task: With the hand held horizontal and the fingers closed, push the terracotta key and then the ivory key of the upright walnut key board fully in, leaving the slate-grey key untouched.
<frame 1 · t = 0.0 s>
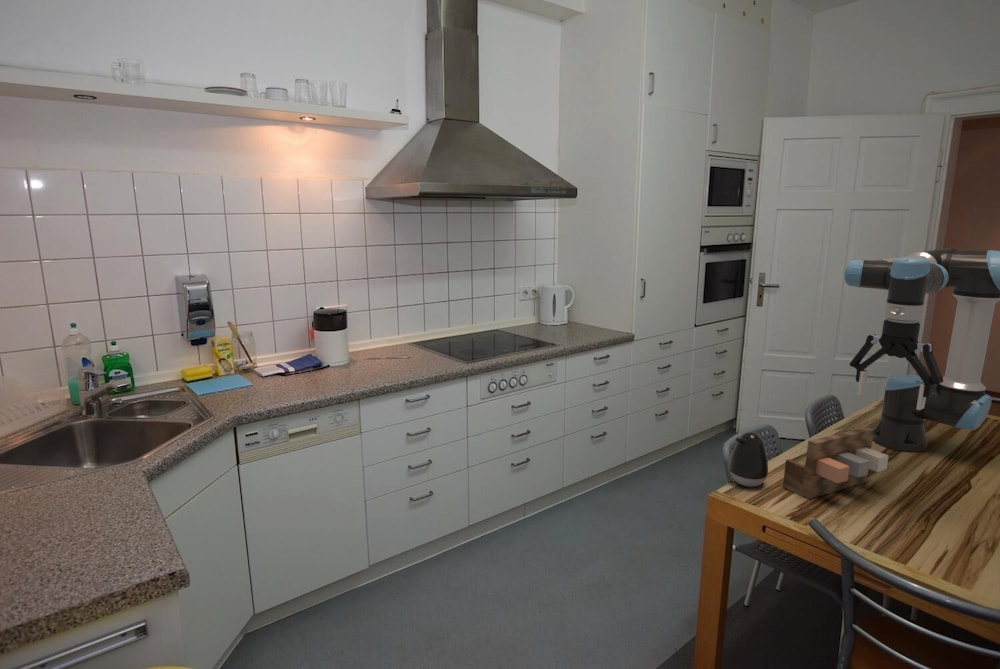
hand: (889, 401, 146), 28 cm above the table, tool pointing down, fingers open, 13 cm apart
key slate: (849, 463, 154), point 9 cm above the table, slide at 0.0 cm
key board: (834, 488, 158), on the table
key ivory: (868, 458, 157), point 9 cm above the table, slide at 0.0 cm
key terracotta: (829, 468, 151), point 9 cm above the table, slide at 0.0 cm
black penguin figurine: (746, 483, 162), on the table
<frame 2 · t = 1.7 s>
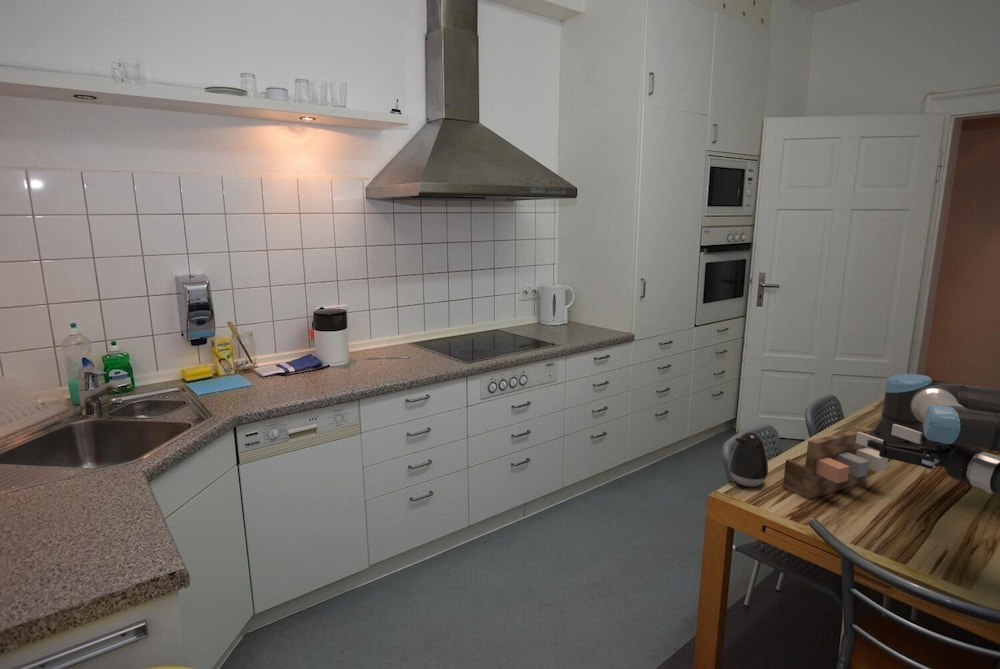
hand: (875, 433, 138), 23 cm above the table, tool horizontal, fingers open, 13 cm apart
nothing on the table moved.
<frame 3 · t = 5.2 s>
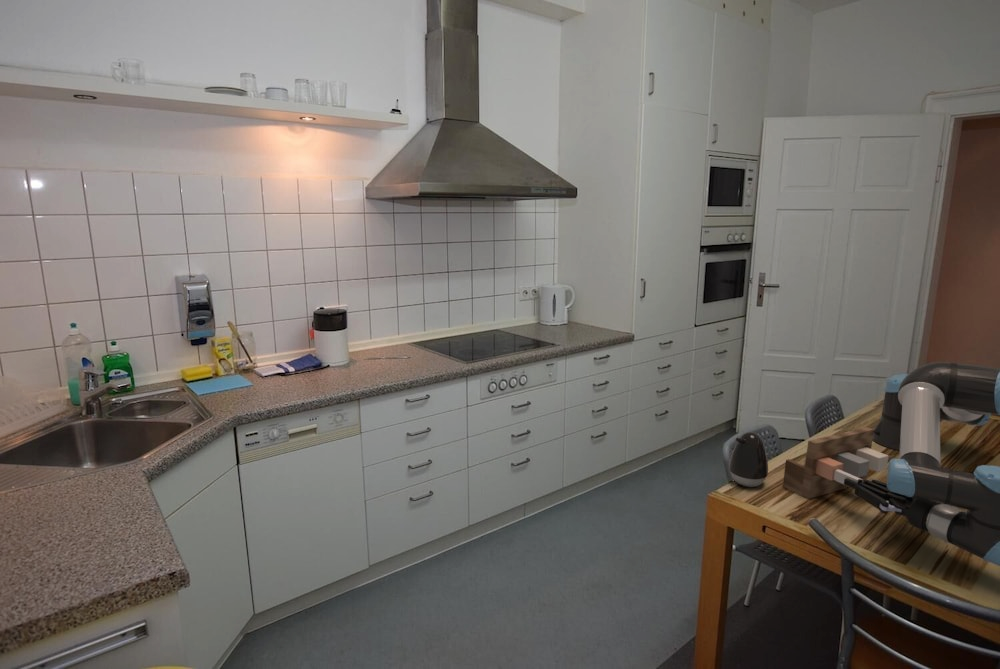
hand: (836, 474, 148), 9 cm above the table, tool horizontal, fingers closed
key terracotta: (823, 466, 152), point 9 cm above the table, slide at 1.7 cm, touching gripper
everything else where it was.
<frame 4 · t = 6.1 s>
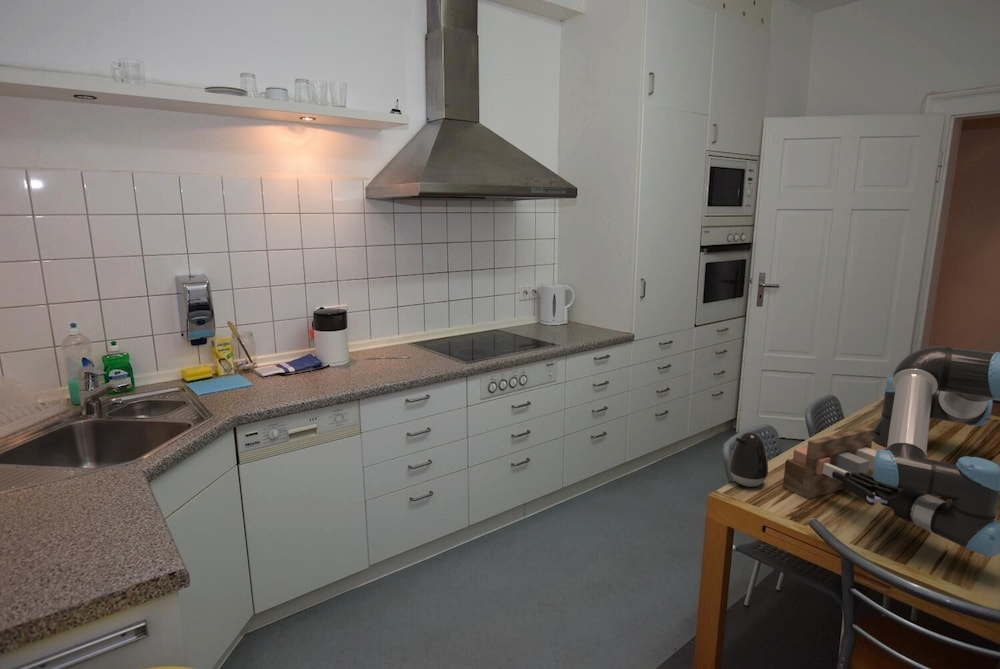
hand: (824, 468, 151), 9 cm above the table, tool horizontal, fingers closed
key terracotta: (811, 460, 155), point 9 cm above the table, slide at 5.3 cm, touching gripper
everything else where it was.
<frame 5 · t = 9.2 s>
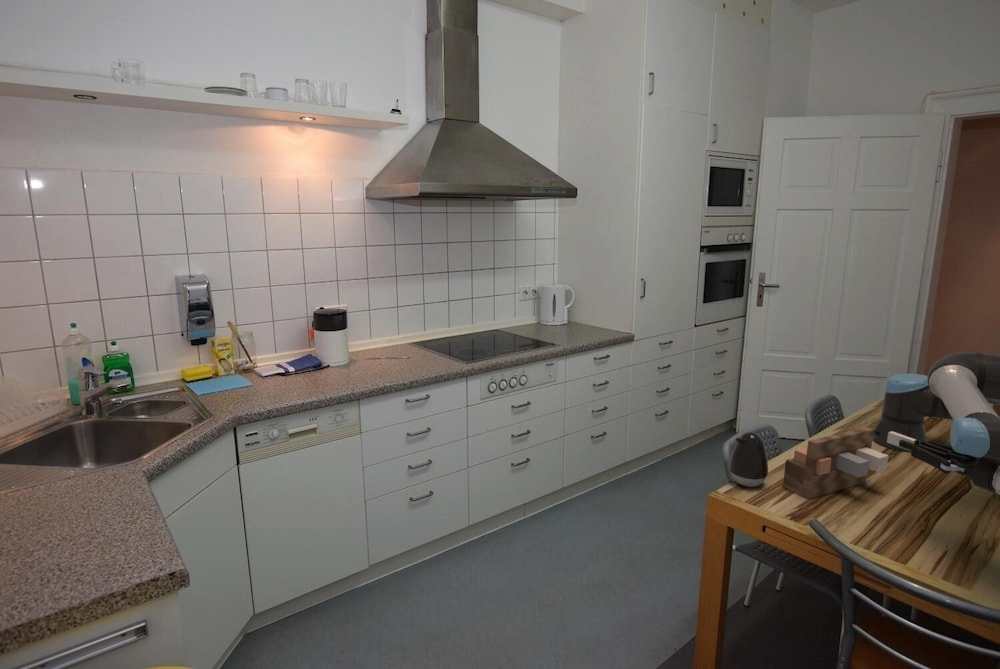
hand: (889, 436, 142), 21 cm above the table, tool horizontal, fingers closed
key terracotta: (812, 461, 155), point 9 cm above the table, slide at 5.1 cm
everything else where it was.
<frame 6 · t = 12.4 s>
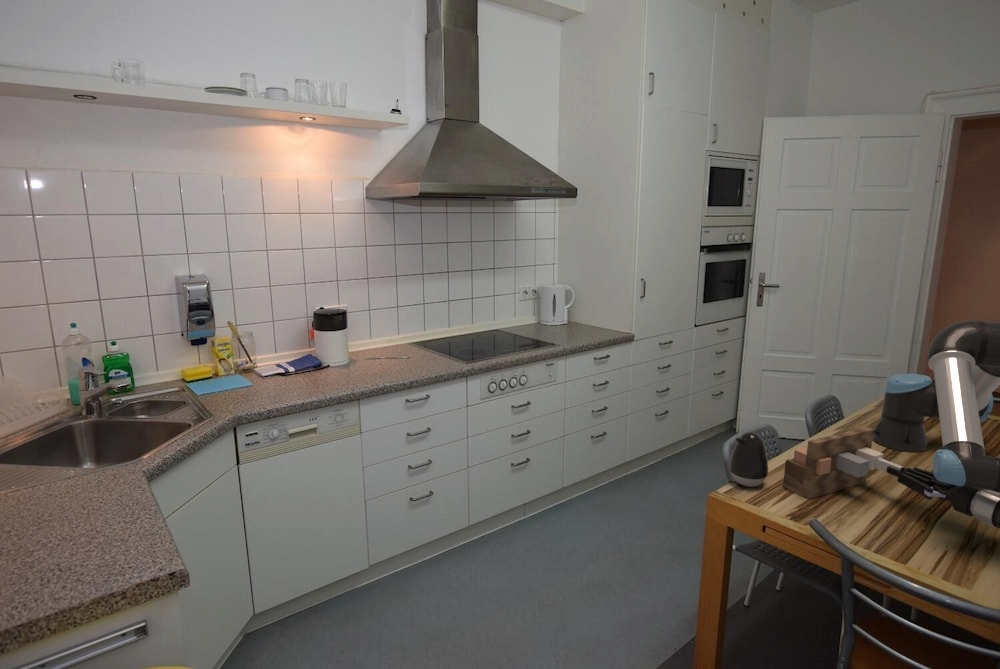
hand: (878, 463, 154), 9 cm above the table, tool horizontal, fingers closed
key ivory: (863, 456, 158), point 9 cm above the table, slide at 1.3 cm, touching gripper
everything else where it was.
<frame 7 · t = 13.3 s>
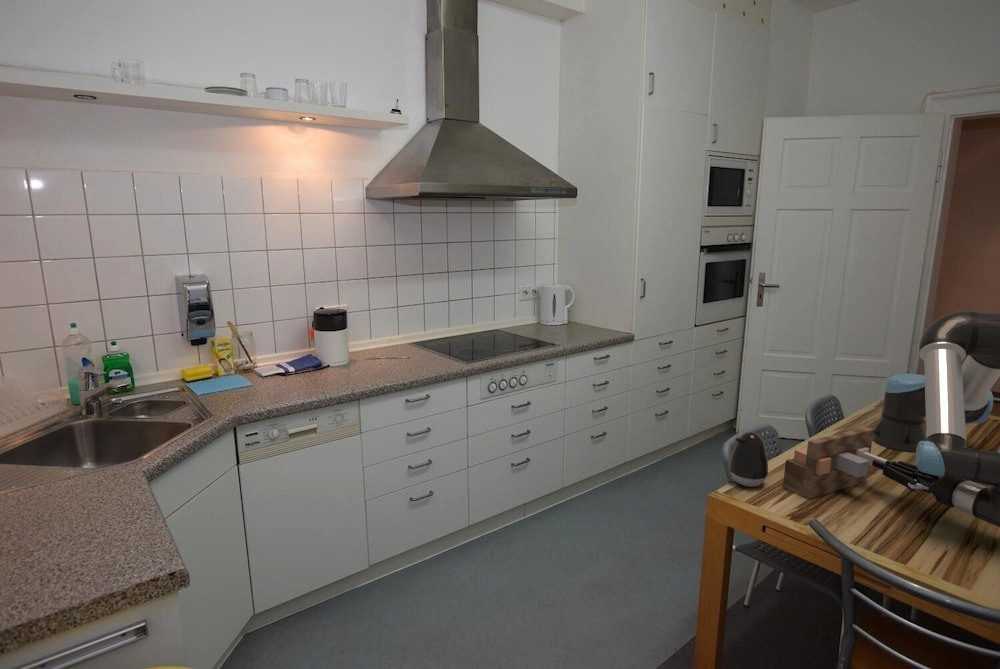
hand: (864, 457, 158), 9 cm above the table, tool horizontal, fingers closed
key ivory: (849, 450, 162), point 9 cm above the table, slide at 5.3 cm, touching gripper
everything else where it was.
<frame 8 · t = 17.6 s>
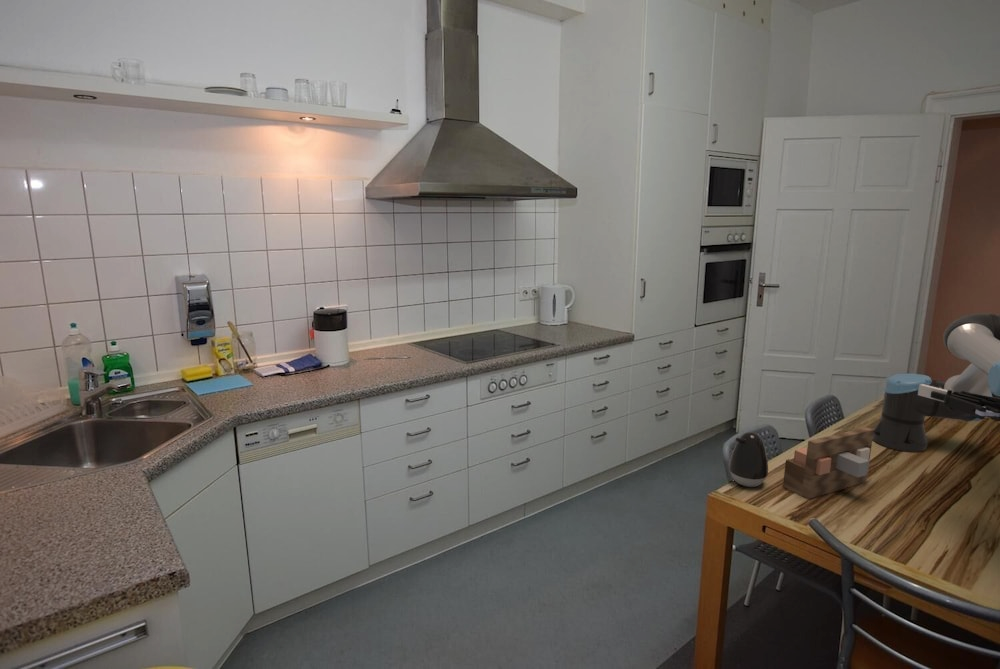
hand: (920, 389, 143), 32 cm above the table, tool horizontal, fingers closed
key ivory: (850, 451, 161), point 9 cm above the table, slide at 5.1 cm
everything else where it was.
at the end: key terracotta slide at 5.1 cm; key ivory slide at 5.1 cm; key slate slide at 0.0 cm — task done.
